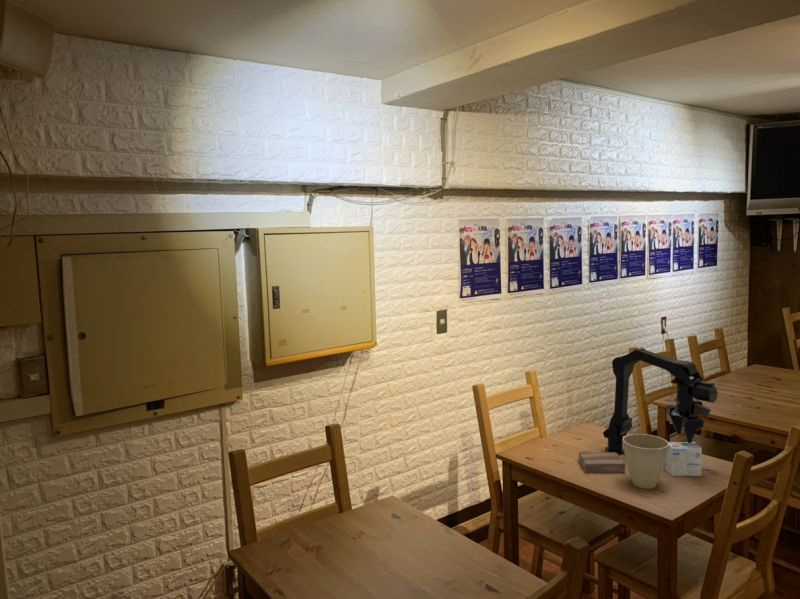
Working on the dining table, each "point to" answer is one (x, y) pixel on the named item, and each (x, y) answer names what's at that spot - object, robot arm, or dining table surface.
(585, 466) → the walnut block
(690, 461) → the light bulb box
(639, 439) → the plant pot
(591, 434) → the dining table surface
